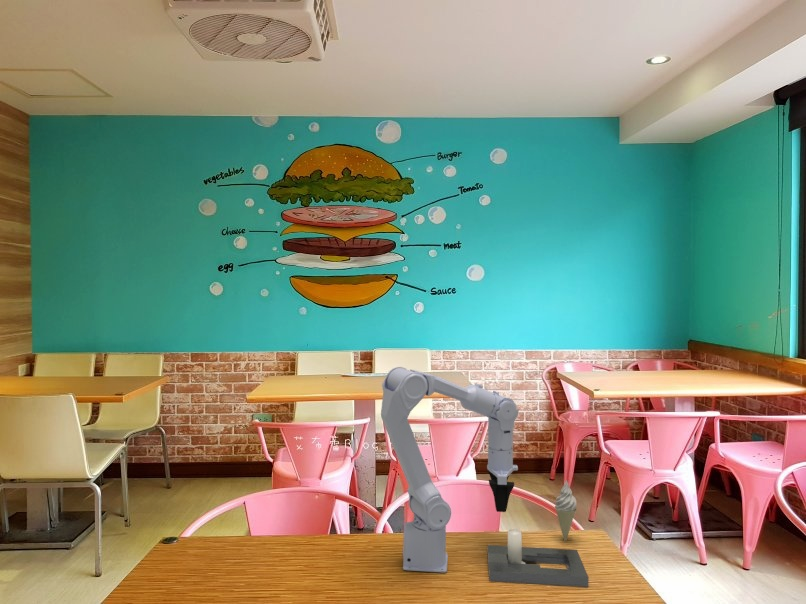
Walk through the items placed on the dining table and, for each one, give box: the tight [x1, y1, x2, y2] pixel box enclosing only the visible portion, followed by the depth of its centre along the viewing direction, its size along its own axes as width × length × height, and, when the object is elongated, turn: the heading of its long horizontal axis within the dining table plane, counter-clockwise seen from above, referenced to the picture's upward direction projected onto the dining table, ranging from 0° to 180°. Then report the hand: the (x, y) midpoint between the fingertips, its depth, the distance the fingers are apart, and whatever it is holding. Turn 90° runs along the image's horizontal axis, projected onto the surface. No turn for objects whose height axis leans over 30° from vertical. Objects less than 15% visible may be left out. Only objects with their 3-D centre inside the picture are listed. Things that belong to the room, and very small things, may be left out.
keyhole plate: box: [486, 544, 589, 588], centre depth 121 cm, size 20×12×2 cm, turn 83°
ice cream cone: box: [554, 479, 578, 542], centre depth 135 cm, size 5×5×15 cm
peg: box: [507, 528, 527, 564], centre depth 121 cm, size 5×5×8 cm
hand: (500, 504), depth 130 cm, fingers open, 7 cm apart
